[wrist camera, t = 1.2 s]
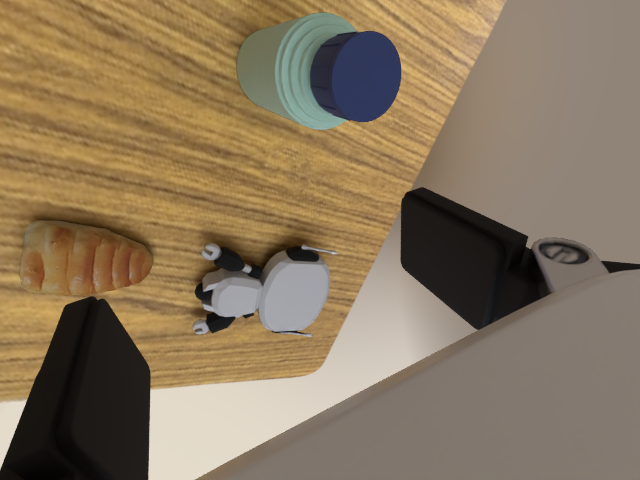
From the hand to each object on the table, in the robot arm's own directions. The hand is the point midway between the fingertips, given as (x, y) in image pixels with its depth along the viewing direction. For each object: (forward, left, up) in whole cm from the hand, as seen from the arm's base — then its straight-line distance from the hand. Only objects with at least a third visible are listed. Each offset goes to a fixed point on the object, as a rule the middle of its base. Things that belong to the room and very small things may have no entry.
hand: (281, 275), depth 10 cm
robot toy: (+17, -4, -23) cm, 29 cm away
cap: (-1, +9, -7) cm, 11 cm away
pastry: (+3, -14, -23) cm, 27 cm away
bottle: (-1, +9, -23) cm, 25 cm away
